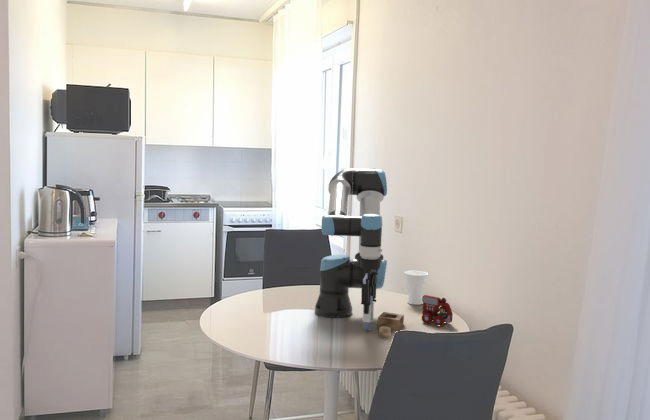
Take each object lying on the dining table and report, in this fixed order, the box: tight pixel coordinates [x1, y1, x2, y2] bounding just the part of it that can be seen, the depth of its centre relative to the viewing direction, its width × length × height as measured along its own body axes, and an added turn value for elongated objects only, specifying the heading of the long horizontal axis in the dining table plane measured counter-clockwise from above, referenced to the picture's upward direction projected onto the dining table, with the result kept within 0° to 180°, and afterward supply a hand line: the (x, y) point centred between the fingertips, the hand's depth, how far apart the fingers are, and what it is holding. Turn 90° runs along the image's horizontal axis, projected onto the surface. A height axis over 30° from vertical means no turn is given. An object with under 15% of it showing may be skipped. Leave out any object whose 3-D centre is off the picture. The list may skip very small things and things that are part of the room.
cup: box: [403, 269, 429, 306], centre depth 249 cm, size 10×10×14 cm
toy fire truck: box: [421, 294, 454, 327], centre depth 220 cm, size 7×12×10 cm, turn 54°
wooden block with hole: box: [377, 311, 405, 331], centre depth 215 cm, size 8×8×4 cm
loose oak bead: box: [378, 326, 392, 339], centre depth 203 cm, size 4×4×3 cm
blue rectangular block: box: [363, 296, 373, 330], centre depth 207 cm, size 3×3×12 cm
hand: (368, 320), depth 208 cm, fingers closed on blue rectangular block, 3 cm apart
